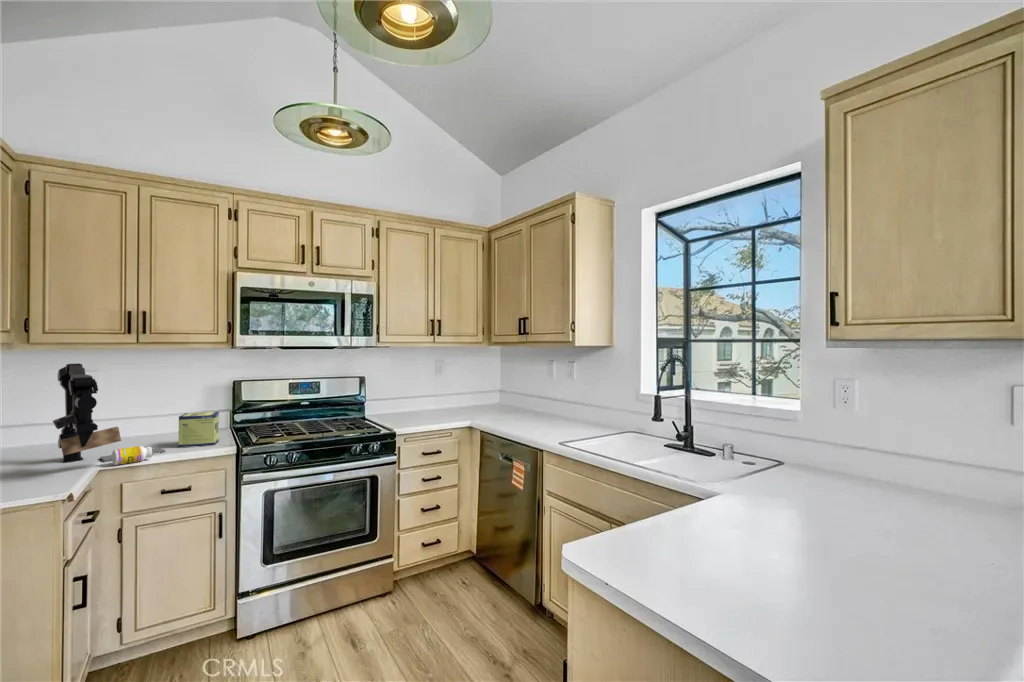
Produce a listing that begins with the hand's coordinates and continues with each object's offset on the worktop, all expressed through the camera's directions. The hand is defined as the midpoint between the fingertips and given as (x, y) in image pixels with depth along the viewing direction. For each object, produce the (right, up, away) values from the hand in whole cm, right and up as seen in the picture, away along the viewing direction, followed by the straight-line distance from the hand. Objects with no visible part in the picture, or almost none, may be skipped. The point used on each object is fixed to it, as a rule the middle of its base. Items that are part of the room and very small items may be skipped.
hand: (82, 446), depth 191 cm
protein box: (+17, -10, +46) cm, 50 cm away
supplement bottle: (+6, -7, +7) cm, 12 cm away
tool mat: (+2, -10, +24) cm, 25 cm away
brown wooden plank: (+2, -1, +3) cm, 3 cm away
